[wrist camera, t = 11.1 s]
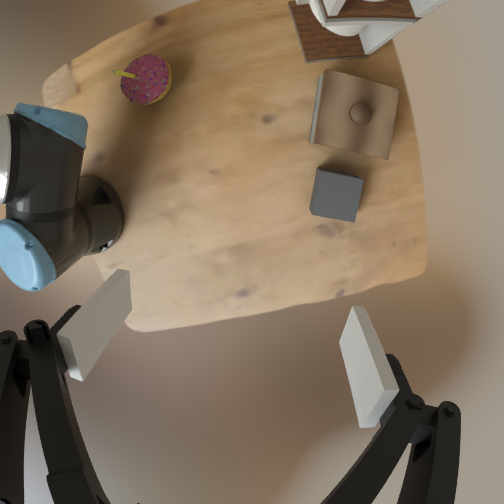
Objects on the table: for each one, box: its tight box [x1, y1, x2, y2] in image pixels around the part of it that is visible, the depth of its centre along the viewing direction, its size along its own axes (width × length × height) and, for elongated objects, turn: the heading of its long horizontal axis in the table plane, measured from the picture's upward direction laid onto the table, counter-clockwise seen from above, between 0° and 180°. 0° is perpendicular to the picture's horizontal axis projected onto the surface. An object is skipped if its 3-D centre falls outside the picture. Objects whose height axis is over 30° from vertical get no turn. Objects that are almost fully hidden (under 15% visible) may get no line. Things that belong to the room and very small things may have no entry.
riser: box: [309, 168, 364, 222], centre depth 46 cm, size 7×7×4 cm
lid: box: [313, 69, 399, 160], centre depth 36 cm, size 11×11×4 cm
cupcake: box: [112, 54, 172, 105], centre depth 37 cm, size 9×8×12 cm
